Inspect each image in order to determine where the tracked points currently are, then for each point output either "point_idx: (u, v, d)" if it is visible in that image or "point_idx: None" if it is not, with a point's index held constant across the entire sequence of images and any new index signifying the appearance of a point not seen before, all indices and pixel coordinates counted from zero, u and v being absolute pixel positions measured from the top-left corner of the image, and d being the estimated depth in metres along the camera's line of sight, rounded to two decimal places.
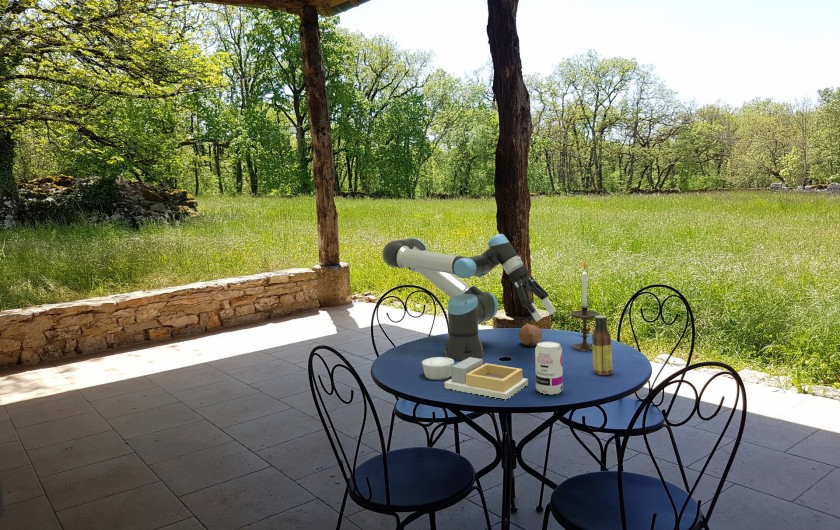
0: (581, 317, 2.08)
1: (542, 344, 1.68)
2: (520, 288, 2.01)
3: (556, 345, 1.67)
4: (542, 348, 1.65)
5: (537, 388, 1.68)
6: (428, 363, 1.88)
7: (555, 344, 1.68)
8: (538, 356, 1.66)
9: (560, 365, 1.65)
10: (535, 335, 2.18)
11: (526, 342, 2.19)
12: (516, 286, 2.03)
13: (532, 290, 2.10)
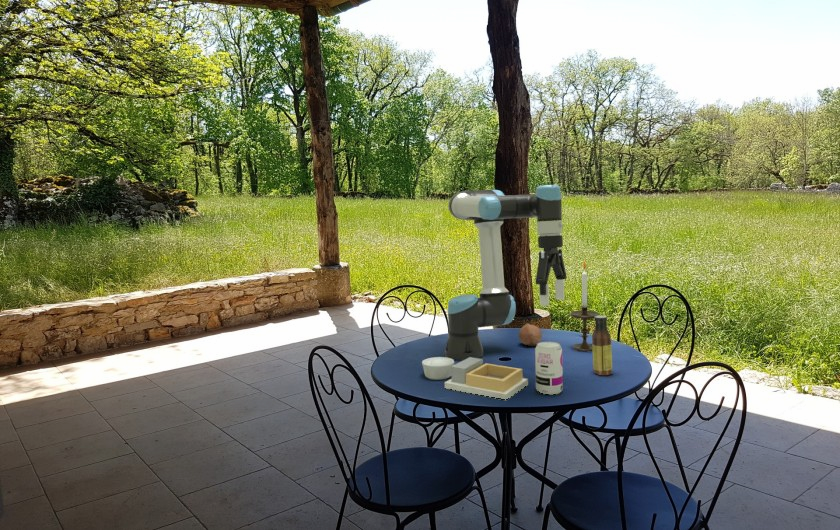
0: (581, 317, 2.08)
1: (542, 344, 1.68)
2: (544, 261, 1.62)
3: (556, 345, 1.67)
4: (542, 348, 1.65)
5: (537, 388, 1.68)
6: (428, 363, 1.88)
7: (555, 344, 1.68)
8: (538, 356, 1.66)
9: (560, 365, 1.65)
10: (535, 335, 2.18)
11: (526, 342, 2.19)
12: (541, 256, 1.63)
13: (553, 265, 1.72)
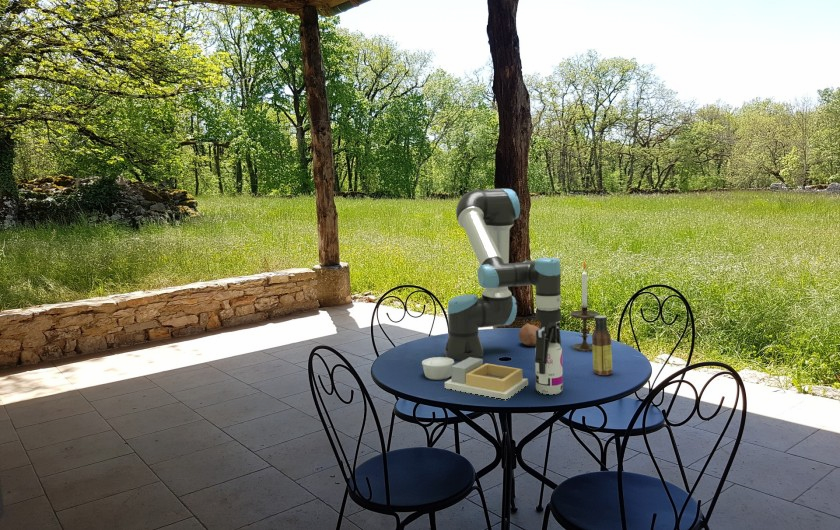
0: (581, 317, 2.08)
1: None
2: (542, 341, 1.61)
3: (556, 345, 1.67)
4: None
5: (537, 388, 1.68)
6: (428, 363, 1.88)
7: (555, 344, 1.68)
8: None
9: (560, 365, 1.65)
10: (535, 335, 2.18)
11: (526, 342, 2.19)
12: (538, 335, 1.62)
13: None
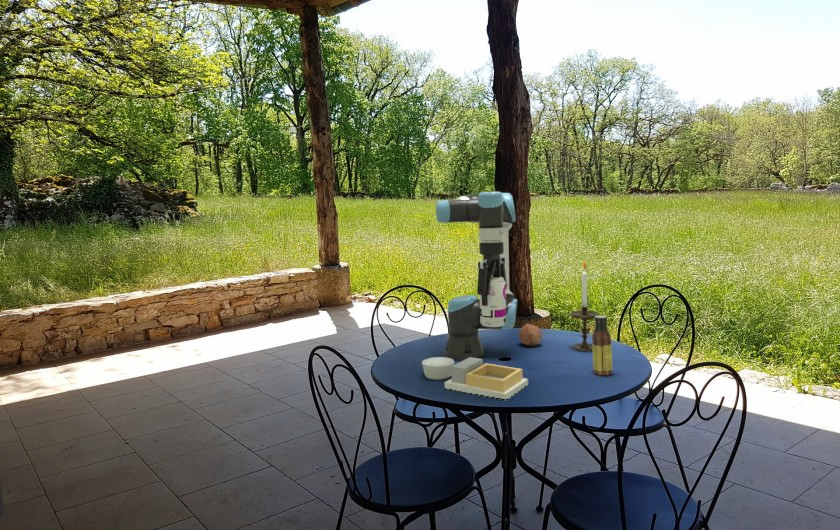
0: (581, 317, 2.08)
1: None
2: (483, 272, 1.63)
3: (499, 278, 1.69)
4: None
5: (481, 321, 1.70)
6: (428, 363, 1.88)
7: (499, 278, 1.70)
8: None
9: (503, 297, 1.67)
10: (535, 335, 2.18)
11: (526, 342, 2.19)
12: (480, 267, 1.64)
13: (494, 273, 1.71)
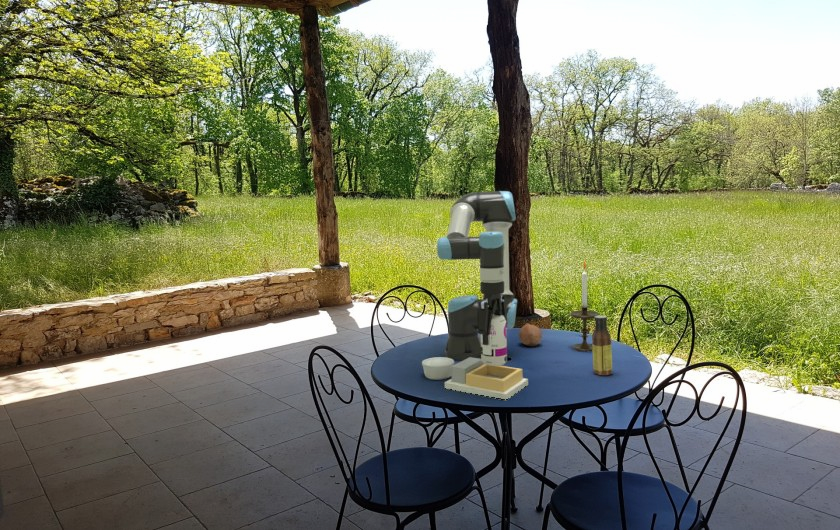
0: (581, 317, 2.08)
1: None
2: (484, 312, 1.65)
3: (500, 317, 1.70)
4: None
5: (482, 359, 1.71)
6: (428, 363, 1.88)
7: (499, 316, 1.71)
8: None
9: (504, 336, 1.69)
10: (535, 335, 2.18)
11: (526, 342, 2.19)
12: (481, 307, 1.65)
13: (494, 311, 1.73)
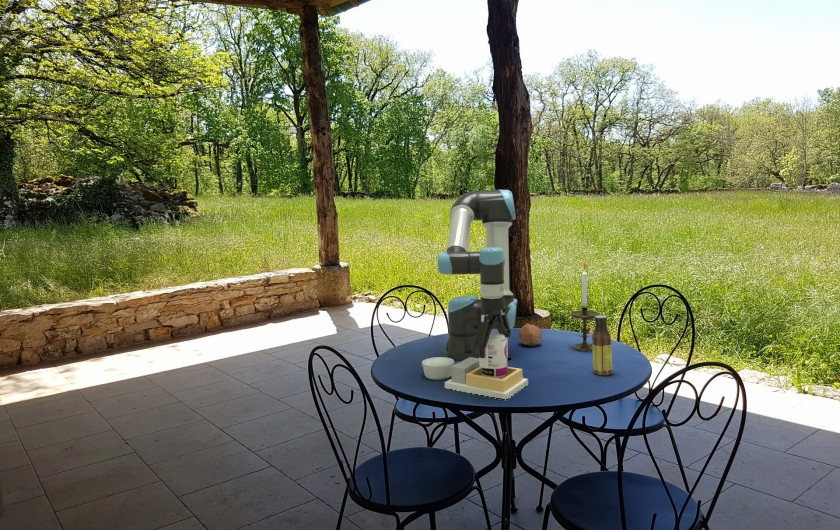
0: (581, 317, 2.08)
1: None
2: (484, 325, 1.65)
3: (501, 336, 1.71)
4: None
5: None
6: (428, 363, 1.88)
7: (500, 336, 1.72)
8: None
9: (504, 356, 1.69)
10: (535, 335, 2.18)
11: (526, 342, 2.19)
12: (481, 320, 1.65)
13: (496, 324, 1.74)
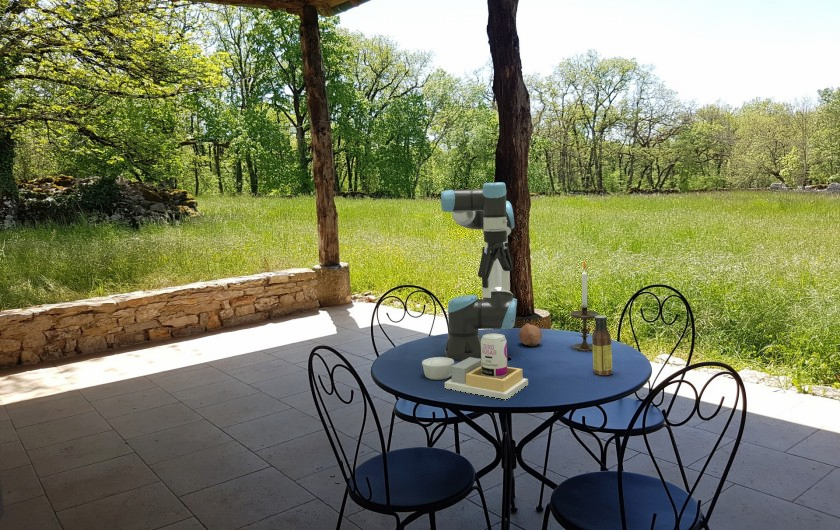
0: (581, 317, 2.08)
1: (487, 336, 1.72)
2: (486, 256, 1.71)
3: (500, 336, 1.71)
4: (486, 339, 1.69)
5: None
6: (428, 363, 1.88)
7: (500, 335, 1.72)
8: (483, 347, 1.70)
9: (504, 356, 1.69)
10: (535, 335, 2.18)
11: (526, 342, 2.19)
12: (484, 251, 1.72)
13: (499, 258, 1.81)
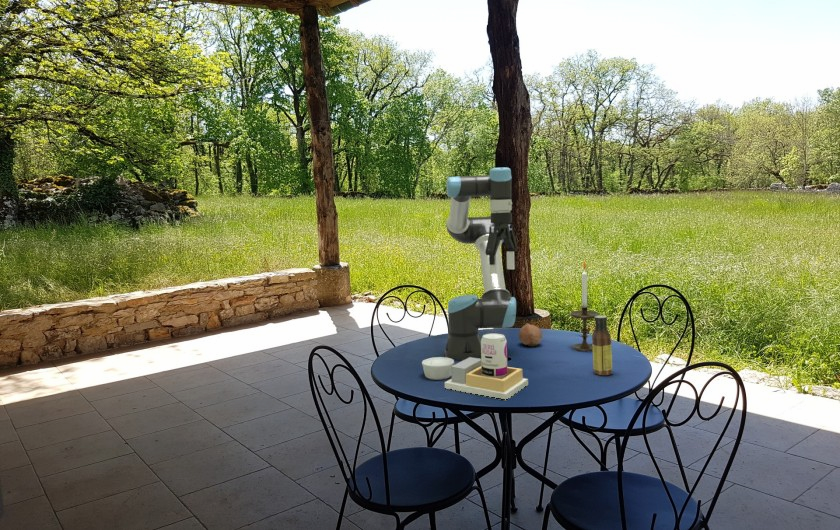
0: (581, 317, 2.08)
1: (487, 336, 1.72)
2: (493, 235, 1.85)
3: (501, 336, 1.71)
4: (486, 339, 1.69)
5: None
6: (428, 363, 1.88)
7: (500, 336, 1.72)
8: (483, 347, 1.70)
9: (504, 356, 1.69)
10: (535, 335, 2.18)
11: (526, 342, 2.19)
12: (491, 231, 1.86)
13: (504, 238, 1.94)
